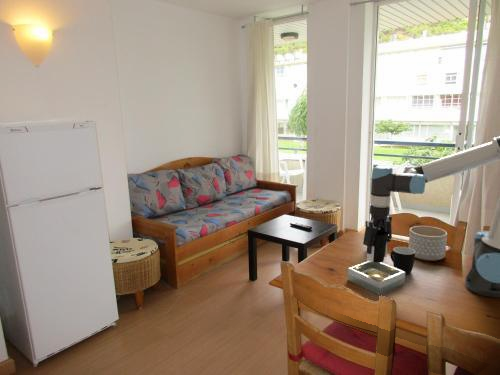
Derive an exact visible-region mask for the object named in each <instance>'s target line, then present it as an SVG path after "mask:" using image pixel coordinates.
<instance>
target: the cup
mask: <svg viewBox="0 0 500 375" xmlns="http://www.w3.org/2000/svg"><path fill="white" fill-rule="evenodd" d="M388 236H389V235H388V232H387V231H386V234H382V233H381V232H380V229H379V231H377V234H376V235H375V240H374V243H373V246H374V259H373V262H382V263H384V260H385V257H384V255H385V249H386V244H387V238H388Z"/></svg>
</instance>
